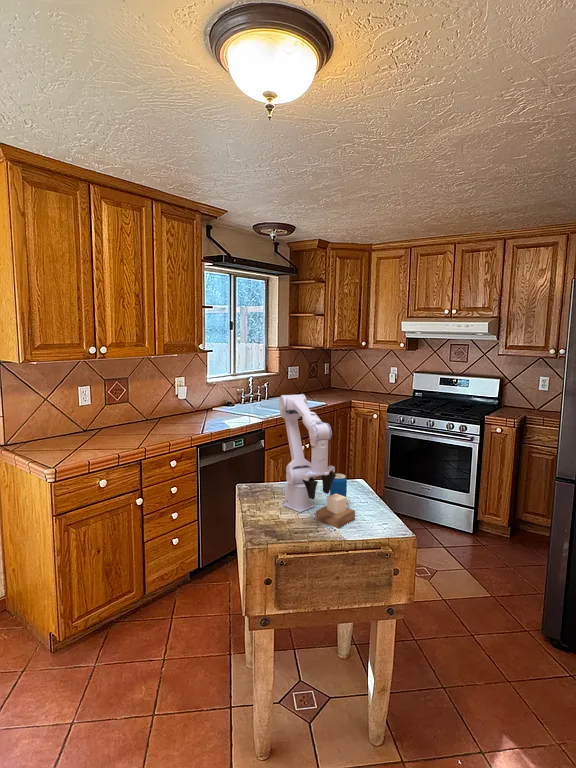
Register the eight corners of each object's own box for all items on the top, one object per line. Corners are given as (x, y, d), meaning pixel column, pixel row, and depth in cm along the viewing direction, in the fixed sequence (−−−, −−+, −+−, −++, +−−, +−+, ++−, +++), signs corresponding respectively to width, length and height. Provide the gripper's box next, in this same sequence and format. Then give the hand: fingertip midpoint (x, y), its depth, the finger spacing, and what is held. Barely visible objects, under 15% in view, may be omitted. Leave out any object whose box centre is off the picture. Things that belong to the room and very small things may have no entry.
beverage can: (344, 502, 180) (345, 473, 179) (347, 508, 174) (348, 478, 172) (328, 502, 180) (329, 473, 179) (330, 508, 174) (331, 478, 172)
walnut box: (315, 521, 163) (316, 510, 163) (332, 513, 171) (332, 503, 170) (338, 529, 157) (338, 518, 156) (354, 520, 164) (355, 510, 164)
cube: (326, 509, 164) (326, 496, 163) (335, 506, 167) (336, 493, 166) (337, 514, 160) (337, 500, 159) (346, 510, 163) (346, 497, 163)
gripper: (314, 464, 149) (313, 504, 151) (341, 456, 159) (340, 493, 161) (298, 460, 154) (298, 498, 156) (326, 452, 164) (325, 488, 166)
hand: (318, 495), depth 159 cm, fingers open, 7 cm apart
